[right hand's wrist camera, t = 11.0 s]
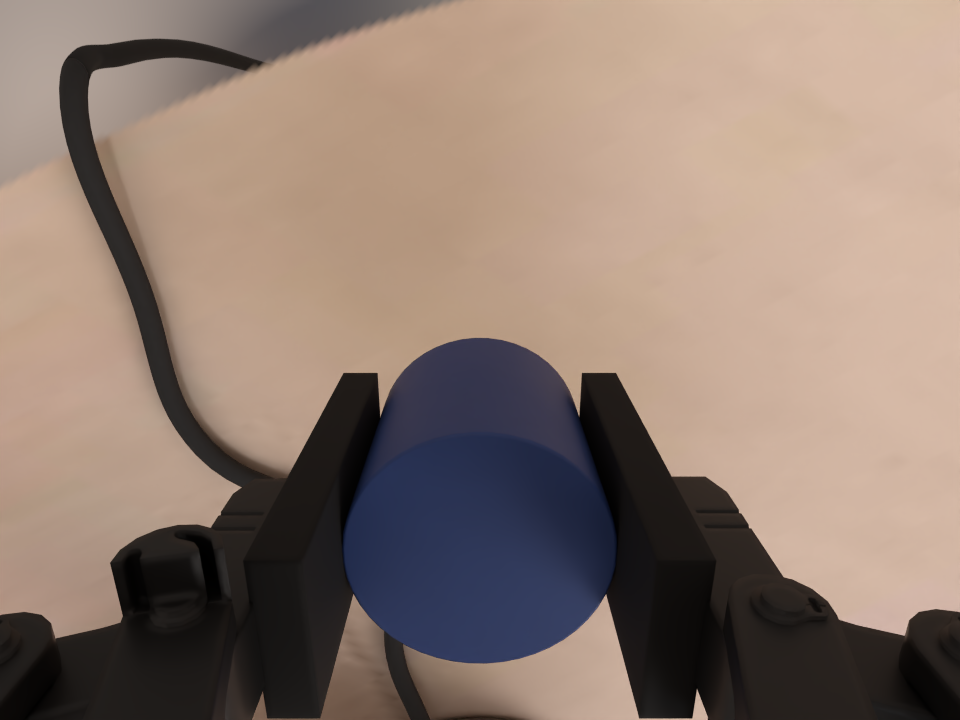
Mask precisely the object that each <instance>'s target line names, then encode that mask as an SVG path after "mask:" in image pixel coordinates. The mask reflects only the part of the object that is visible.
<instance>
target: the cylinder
mask: <svg viewBox="0 0 960 720" xmlns="http://www.w3.org/2000/svg"><path fill="white" fill-rule="evenodd" d="M342 552H343V563H344V568H345V572H346V576H347V579H348V582H349V584H350V587H351V589H352V592H353V593H354V595H355V597H356V599H357V600H358V602H359V604H360V605H361V607H362V608H363V609H364V611H365V612H366V613H367V614H368V616H369V617H370V618H371V619H372V620H373V621H374V622H375V623H376V624H377V625H378V626H379V627H380V628H381V629H383V630H384V631H385V632H386V633H388V634H389V635H390V636H392V637H393V638H395V639H396V640H398V641H399V642H401V643H403V644H404V645H406V646H408V647H410V648H413V649H415V650H417V651H419V652H421V653H424V654H427V655H430V656H433V657H436V658H441V659H445V660H450V661H455V662H464V663H496V662H505V661H510V660H515V659H520V658H523V657H526V656H529V655H533V654H536V653H538V652H540V651H543V650H545V649H547V648H550V647H551V646H553V645H555V644H557V643H558V642H560V641H562V640H564V639H565V638H566V637H568V636H569V635H571V634H572V633H573V632H575V631H576V630H577V629H578V628H579V627H580V626H581V625H582V624H584V623H585V622H586V621H587V620H588V619H589V617H590V616H591V615H592V614H593V613H594V611H595V610H596V609H597V608H598V606H599V605H600V603H601V601H602V600H603V598H604V596H605V595H606V593H607V590H608V588H609V586H610V583H611V581H612V578H613V574H614V570H615V566H616V558H617V533H616V528H615V523H614V519H613V516H612V513H611V510H610V507H609V504H608V501H607V498H606V495H605V492H604V489H603V486H602V483H601V480H600V477H599V474H598V472H597V469H596V466H595V463H594V460H593V457H592V454H591V451H590V448H589V445H588V442H587V439H586V436H585V433H584V430H583V427H582V424H581V421H580V418H579V415H578V412H577V409H576V406H575V403H574V401H573V398H572V396H571V393H570V391H569V389H568V387H567V385H566V384H565V382H564V380H563V379H562V378H561V376H560V375H559V374H558V372H557V371H556V370H555V369H554V368H553V367H552V366H551V365H550V364H549V363H548V362H546V361H545V360H544V359H542V358H541V357H540V356H538V355H537V354H535V353H533V352H532V351H530V350H528V349H526V348H524V347H521V346H519V345H517V344H514V343H510V342H507V341H503V340H497V339H490V338H470V339H461V340H457V341H453V342H449V343H446V344H443V345H441V346H438V347H436V348H434V349H432V350H430V351H428V352H426V353H424V354H423V355H422V356H420V357H419V358H417V359H416V360H415V361H413V362H412V363H411V364H410V365H409V366H408V367H407V368H406V369H405V370H404V371H403V372H402V374H401V375H400V376H399V377H398V379H397V380H396V382H395V383H394V385H393V387H392V388H391V390H390V393H389V395H388V397H387V400H386V403H385V405H384V408H383V411H382V414H381V417H380V420H379V423H378V426H377V429H376V432H375V435H374V438H373V441H372V444H371V447H370V450H369V453H368V455H367V458H366V461H365V464H364V467H363V470H362V473H361V476H360V479H359V482H358V485H357V488H356V491H355V494H354V497H353V500H352V503H351V505H350V508H349V511H348V514H347V518H346V522H345V526H344V530H343V539H342Z"/></svg>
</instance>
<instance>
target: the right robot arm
mask: <svg viewBox="0 0 960 720" xmlns="http://www.w3.org/2000/svg"><path fill="white" fill-rule="evenodd" d="M161 58H186V59H195V60H202V61H207V62H212V63H217V64H221V65H225V66H229V67H233V68H236V69H240V70H244V71H247V72H251V71H255V70H258V69H260V68H261V67H263V66H265V65H270V63H266V62H262V61H259V60H255V59H252V58H249V57H246V56H243V55H240V54H237V53H234V52H231V51H228V50H224V49H221V48H218V47H214V46H211V45H206V44H202V43H197V42H193V41H185V40H178V39H138V40H130V41H124V42H118V43H112V44H103V45H85V46H81V47H78V48H76V49H75V50H74V51H73V52H72V53H71V54H70V55H68V57H67V58H66V59H65V61H64V63H63V66H62V69H61V74H60V85H59V94H60V110H61V117H62V124H63V129H64V133H65V138H66V142H67V146H68V149H69V152H70V156H71V159H72V162H73V165H74V168H75V171H76V173H77V176H78V179H79V181H80V184H81V186H82V189H83V191H84V193H85V196H86V198H87V200H88V203H89V205H90V207H91V209H92V212H93V214H94V216H95V218H96V220H97V222H98V225H99V227H100V229H101V231H102V233H103V235H104V238H105V240H106V242H107V244H108V246H109V248H110V251H111V253H112V255H113V257H114V259H115V262H116V264H117V266H118V269H119V271H120V273H121V276H122V278H123V281H124V283H125V286H126V288H127V291H128V294H129V296H130V299H131V302H132V305H133V308H134V311H135V314H136V318H137V321H138V325H139V328H140V332H141V336H142V339H143V343H144V347H145V351H146V355H147V359H148V363H149V366H150V370H151V373H152V377H153V380H154V383H155V386H156V389H157V392H158V395H159V397H160V400H161V402H162V405H163V407H164V409H165V411H166V413H167V415H168V417H169V419H170V420H171V422H172V424H173V426H174V427H175V429H176V430H177V432H178V433H179V435H180V436H181V437H182V439H183V440H184V441H185V443H186V444H187V445H188V446H189V447H190V449H191V450H192V451H193V452H194V453H195V454H196V455H197V456H198V457H199V458H200V459H201V460H202V461H203V462H204V463H205V464H206V465H208V466H209V467H210V468H211V469H212V470H214V471H215V472H217V473H218V474H219V475H221V476H222V477H224V478H225V479H227V480H229V481H231V482H233V483H235V484H236V485H238V486H240V487H242V488H241V489H239V490H238V491H237V492H235V493H234V494H233V495H232V496H231V498H230V499H229V501H228V502H227V504H226V505H225V507H224V508H223V510H222V511H221V516H218V517H217V519H216V521H215V522H214V524H213V525H212V527H211V528H208V527H205V526H201V525H176V526H172V527H167V528H163V529H158V530H155V531H153V532H151V533H148V534H146V535H144V536H141V537H139V538H137V539H135V540H134V541H132V542H131V543H129V544H128V545H127V546H125V547H124V548H122V549H121V550H120V551H119V552H118V553H117V555H116V556H115V557H114V559H113V560H112V561H111V562H110V564H111V568H112V572H113V577H114V581H115V585H116V589H117V593H118V597H119V602H120V606H121V610H122V614H123V618H122V620H121V623H118V624H115V625H111V626H108V627H104V628H101V629H96V630H92V631H87V632H83V633H78V634H74V635H69V636H65V637H60V638H56V639H55V636H54V632H53V629H52V625H51V623H50V622H49V621H48V620H47V619H45V618H44V617H43V616H42V615H39V614H33V613H27V612H21V613H12V614H4V615H0V720H252V718H253V715H254V713H255V710H256V707H257V705H258V702H259V699H260V697H261V694H262V692H263V694H264V700H265V707H266V713H267V718H320V717H321V713H322V710H323V706H324V702H325V698H326V695H327V691H328V687H329V683H330V680H331V676H332V672H333V668H334V665H335V661H336V657H337V653H338V649H339V646H340V642H341V638H342V634H343V631H344V627H345V623H346V619H347V616H348V612H349V608H350V604H351V601H352V597H353V592H352V589H351V587H350V584H349V582H348V579H347V576H346V572H345V568H344V563H343V552H342V539H343V530H344V526H345V522H346V518H347V514H348V511H349V508H350V505H351V503H352V500H353V497H354V494H355V491H356V488H357V485H358V482H359V479H360V476H361V473H362V470H363V467H364V464H365V461H366V458H367V455H368V453H369V450H370V447H371V444H372V441H373V438H374V435H375V432H376V429H377V426H378V423H379V420H380V407H379V390H378V373H343V375H342V377H341V379H340V381H339V383H338V385H337V386H336V388H335V390H334V392H333V394H332V396H331V398H330V399H329V401H328V403H327V405H326V407H325V409H324V411H323V412H322V414H321V416H320V418H319V420H318V422H317V424H316V426H315V427H314V429H313V431H312V433H311V435H310V437H309V439H308V440H307V442H306V444H305V446H304V448H303V450H302V452H301V453H300V455H299V457H298V459H297V461H296V463H295V465H294V466H293V468H292V470H291V472H290V474H289V476H288V478H287V479H275V478H272V477H269V476H266V475H264V474H261V473H259V472H257V471H254V470H252V469H250V468H248V467H246V466H244V465H243V464H241V463H239V462H237V461H236V460H234V459H233V458H232V457H230V456H229V455H227V454H226V453H224V452H223V451H222V450H221V449H220V448H219V447H218V446H217V445H216V444H215V443H214V442H213V441H212V440H211V439H210V438H209V437H208V435H207V434H206V433H205V432H204V431H203V430H202V428H201V427H200V425H199V424H198V423H197V421H196V420H195V418H194V417H193V415H192V413H191V411H190V410H189V408H188V406H187V404H186V402H185V400H184V398H183V395H182V393H181V390H180V388H179V385H178V382H177V378H176V375H175V372H174V368H173V365H172V361H171V357H170V353H169V349H168V345H167V340H166V336H165V332H164V328H163V325H162V321H161V317H160V314H159V310H158V307H157V303H156V300H155V297H154V294H153V291H152V288H151V285H150V283H149V280H148V278H147V275H146V272H145V270H144V267H143V265H142V262H141V260H140V258H139V255H138V253H137V250H136V248H135V246H134V243H133V241H132V239H131V236H130V234H129V232H128V230H127V227H126V225H125V223H124V221H123V218H122V216H121V214H120V211H119V209H118V207H117V205H116V202H115V200H114V197H113V195H112V193H111V190H110V188H109V185H108V183H107V180H106V178H105V175H104V172H103V169H102V166H101V164H100V161H99V158H98V154H97V151H96V147H95V144H94V140H93V136H92V131H91V126H90V119H89V111H88V86H89V80H90V77H91V74H92V73H93V71H95V70H98V69H103V68H113V67H120V66H125V65H129V64H133V63H137V62H141V61H145V60H153V59H161ZM579 418H580V421H581V424H582V427H583V430H584V433H585V436H586V439H587V442H588V445H589V448H590V451H591V454H592V457H593V460H594V463H595V466H596V469H597V472H598V474H599V477H600V480H601V483H602V486H603V489H604V492H605V495H606V498H607V501H608V504H609V507H610V510H611V513H612V516H613V519H614V523H615V528H616V533H617V558H616V566H615V570H614V574H613V578H612V581H611V583H610V586H609V588H608V590H607V593H606V595H607V599H608V602H609V606H610V610H611V614H612V617H613V621H614V625H615V629H616V632H617V636H618V640H619V644H620V647H621V651H622V655H623V659H624V662H625V666H626V670H627V674H628V677H629V681H630V685H631V689H632V692H633V696H634V700H635V704H636V707H637V711H638V715H639V718H692V717H693V710H694V704H695V697H696V691H697V690H698V692H699V695H700V697H701V700H702V703H703V705H704V708H705V711H706V713H707V716H708V720H960V612H955V611H946V610H938V609H934V610H928V611H923V612H918V613H917V614H916V615H915V616H914V617H913V618H911V619H910V620H909V623H908V627H907V630H906V634H905V636H903V635H898V634H894V633H889V632H885V631H880V630H876V629H871V628H867V627H862V626H858V625H854V624H851V623H848V622H844V621H841V620H839V619H838V617H837V615H836V613H835V612H834V610H833V609H832V607H831V606H830V604H829V603H828V601H826V600H825V599H824V598H823V597H821V596H820V595H819V594H818V593H816V592H815V591H814V590H813V589H811V588H809V587H807V586H805V585H803V584H801V583H798V582H796V581H794V580H792V579H788V578H784V577H783V576H782V574H781V573H780V571H779V570H778V568H777V567H776V565H775V564H774V562H773V561H772V559H771V558H770V556H769V555H768V553H767V552H766V550H765V549H764V547H763V546H762V544H761V543H760V541H759V540H758V538H757V537H756V535H755V534H754V532H753V531H752V529H751V528H749V525H748V523H747V522H746V520H745V519H744V517H743V515H742V514H741V513H739V509H738V508H737V506H736V505H735V503H734V502H733V500H732V499H731V497H730V496H729V494H728V493H727V492H726V491H725V490H723V489H722V488H721V487H719V486H718V485H716V484H715V483H714V482H712V481H711V480H709V479H708V478H707V477H671V475H670V473H669V471H668V469H667V467H666V465H665V464H664V462H663V460H662V458H661V456H660V454H659V452H658V451H657V449H656V447H655V445H654V443H653V441H652V439H651V438H650V436H649V434H648V432H647V430H646V428H645V426H644V424H643V423H642V421H641V419H640V417H639V415H638V413H637V411H636V410H635V408H634V406H633V404H632V402H631V400H630V398H629V397H628V395H627V393H626V391H625V389H624V387H623V385H622V384H621V382H620V380H619V378H618V376H617V374H616V373H582V383H581V399H580V416H579ZM384 641H385V652H386V659H387V663H388V667H389V671H390V674H391V677H392V679H393V682H394V684H395V687H396V689H397V691H398V693H399V696H400V698H401V700H402V702H403V704H404V706H405V708H406V710H407V713H408V715H409V717H410V719H411V720H430V718H429V716H428V713H427V711H426V709H425V707H424V704H423V702H422V700H421V698H420V696H419V693H418V691H417V689H416V687H415V685H414V683H413V681H412V678H411V676H410V673H409V670H408V668H407V664H406V660H405V656H404V651H403V643H401V642H399V641H398V640H396V639H395V638H393V637H392V636H390V635H389V634H388V633H386V632H385V631H384ZM457 720H504V719H496V718H466V719H457Z"/></svg>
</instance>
